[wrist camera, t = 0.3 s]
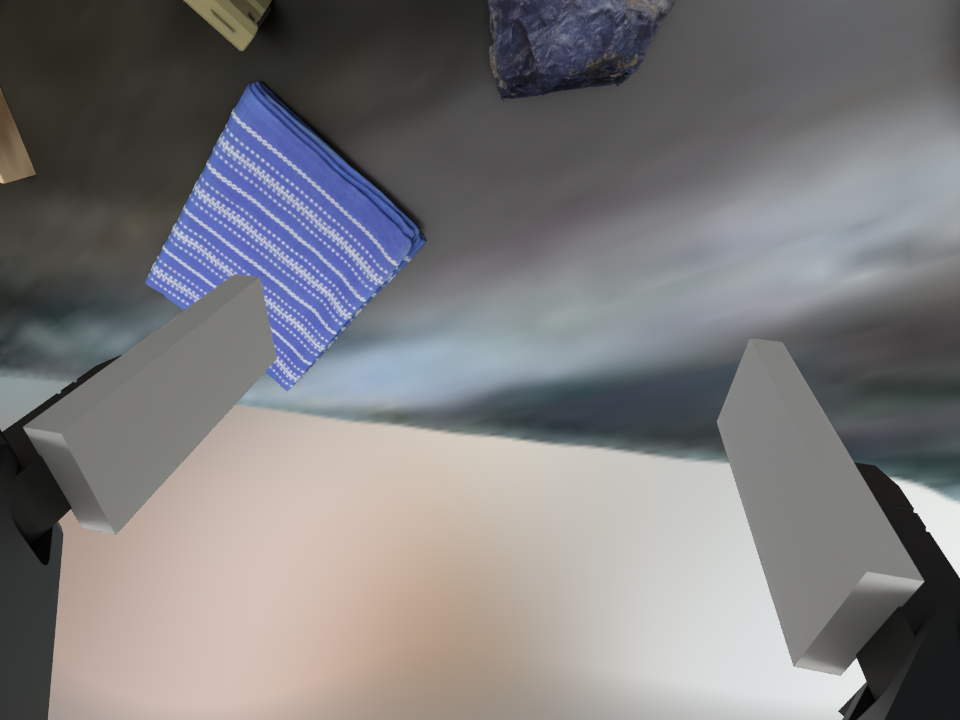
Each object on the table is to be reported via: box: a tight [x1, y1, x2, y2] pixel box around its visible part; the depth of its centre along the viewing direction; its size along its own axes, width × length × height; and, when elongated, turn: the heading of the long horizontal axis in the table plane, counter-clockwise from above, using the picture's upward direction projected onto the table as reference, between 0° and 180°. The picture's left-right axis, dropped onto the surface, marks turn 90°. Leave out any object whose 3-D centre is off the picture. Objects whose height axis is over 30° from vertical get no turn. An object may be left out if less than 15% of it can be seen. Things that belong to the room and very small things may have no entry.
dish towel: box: [145, 81, 426, 391], centre depth 45 cm, size 17×24×3 cm
